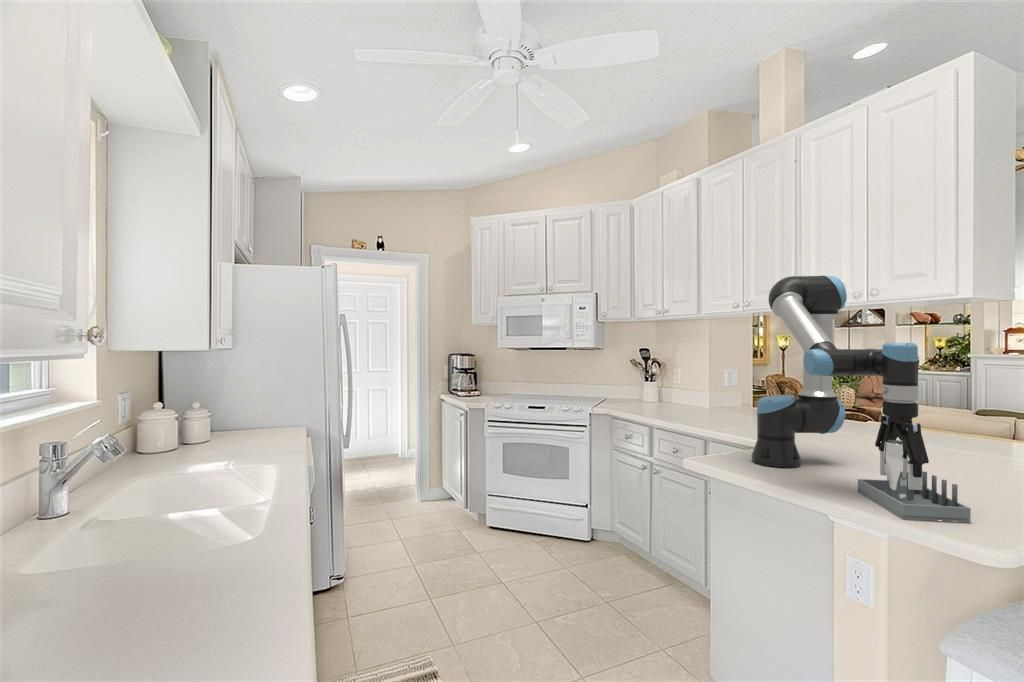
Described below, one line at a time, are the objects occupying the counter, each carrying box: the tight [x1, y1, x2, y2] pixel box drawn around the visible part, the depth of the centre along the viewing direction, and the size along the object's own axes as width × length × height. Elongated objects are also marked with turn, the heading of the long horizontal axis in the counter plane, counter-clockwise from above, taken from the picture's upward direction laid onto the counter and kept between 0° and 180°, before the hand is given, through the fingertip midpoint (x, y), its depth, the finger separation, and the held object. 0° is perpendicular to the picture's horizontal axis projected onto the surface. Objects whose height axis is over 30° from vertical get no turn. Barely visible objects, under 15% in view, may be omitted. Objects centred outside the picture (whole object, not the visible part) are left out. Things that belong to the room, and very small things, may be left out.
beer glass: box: [884, 439, 915, 503], centre depth 135 cm, size 7×7×15 cm
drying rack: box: [857, 470, 971, 523], centre depth 133 cm, size 23×14×8 cm, turn 169°
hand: (899, 482), depth 136 cm, fingers open, 13 cm apart
